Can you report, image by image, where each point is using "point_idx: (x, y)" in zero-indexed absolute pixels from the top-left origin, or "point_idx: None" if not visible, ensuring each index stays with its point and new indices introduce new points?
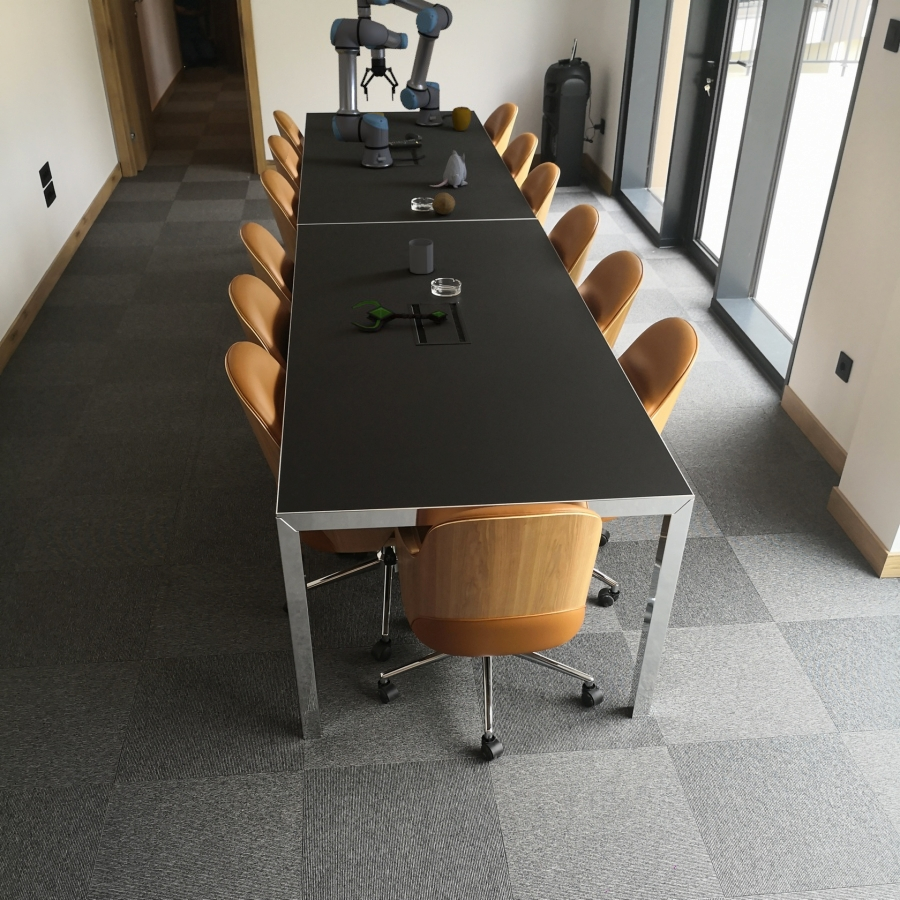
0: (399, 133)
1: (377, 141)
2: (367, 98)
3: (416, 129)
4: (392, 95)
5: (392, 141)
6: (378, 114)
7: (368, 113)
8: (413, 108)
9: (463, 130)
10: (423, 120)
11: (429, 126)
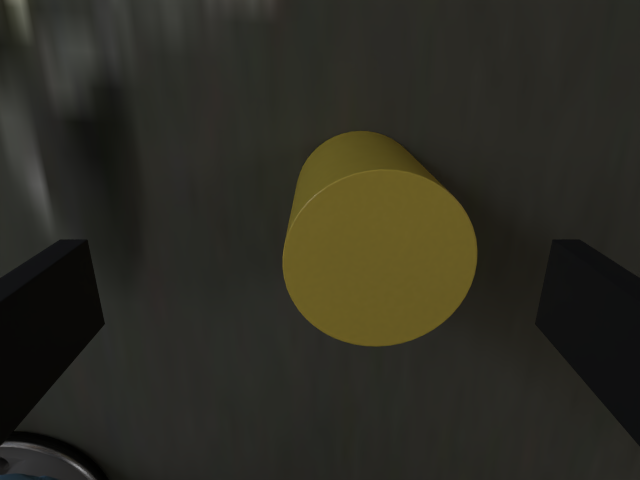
0: (195, 290)
1: None
2: (589, 258)
3: (94, 383)
4: (12, 285)
5: (229, 35)
6: (346, 233)
7: (457, 289)
8: (11, 474)
9: None
10: (41, 474)
11: (20, 433)
